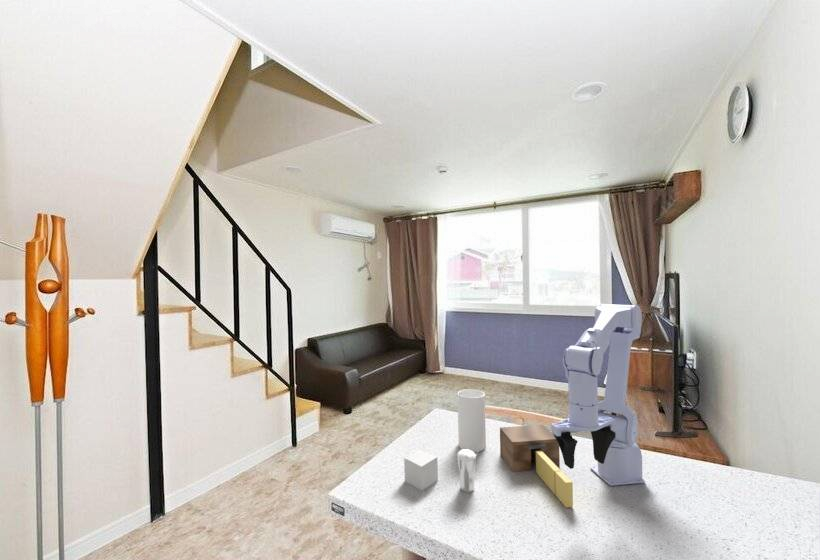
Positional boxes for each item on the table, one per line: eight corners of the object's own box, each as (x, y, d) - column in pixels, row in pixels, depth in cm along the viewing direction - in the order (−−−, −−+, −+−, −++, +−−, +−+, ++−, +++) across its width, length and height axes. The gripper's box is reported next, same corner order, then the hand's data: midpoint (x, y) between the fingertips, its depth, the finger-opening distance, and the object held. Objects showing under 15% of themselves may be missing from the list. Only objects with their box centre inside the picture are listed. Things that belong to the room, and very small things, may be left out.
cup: (488, 451, 101) (487, 397, 101) (460, 452, 101) (459, 398, 101) (482, 438, 109) (481, 388, 109) (457, 439, 109) (456, 389, 109)
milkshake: (480, 495, 81) (479, 453, 81) (457, 493, 82) (456, 451, 82) (480, 484, 85) (479, 444, 85) (458, 482, 86) (457, 442, 86)
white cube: (422, 491, 83) (421, 466, 83) (404, 481, 87) (404, 458, 87) (438, 480, 88) (437, 456, 87) (420, 471, 92) (420, 449, 92)
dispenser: (543, 451, 101) (542, 424, 101) (560, 469, 91) (560, 439, 91) (500, 454, 100) (499, 427, 100) (513, 472, 90) (513, 443, 90)
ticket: (542, 471, 90) (541, 450, 90) (573, 506, 76) (572, 482, 76) (535, 472, 90) (535, 451, 90) (565, 507, 76) (565, 482, 76)
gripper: (597, 392, 80) (598, 450, 81) (542, 398, 77) (543, 458, 77) (622, 403, 74) (623, 466, 74) (562, 410, 70) (564, 476, 70)
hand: (584, 463), depth 75 cm, fingers open, 7 cm apart
